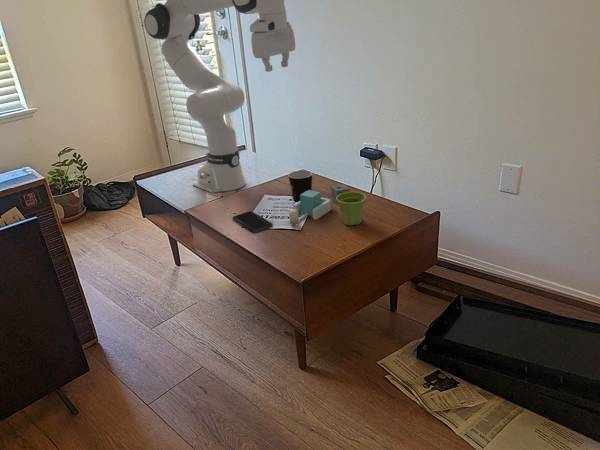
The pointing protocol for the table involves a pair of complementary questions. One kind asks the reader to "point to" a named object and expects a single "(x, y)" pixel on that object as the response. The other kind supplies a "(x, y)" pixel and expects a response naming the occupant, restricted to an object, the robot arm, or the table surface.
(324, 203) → the rail lane
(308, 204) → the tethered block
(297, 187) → the coffee mug
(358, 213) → the plant pot
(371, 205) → the table surface
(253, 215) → the phone
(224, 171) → the robot arm
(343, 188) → the grey cube with symbols
